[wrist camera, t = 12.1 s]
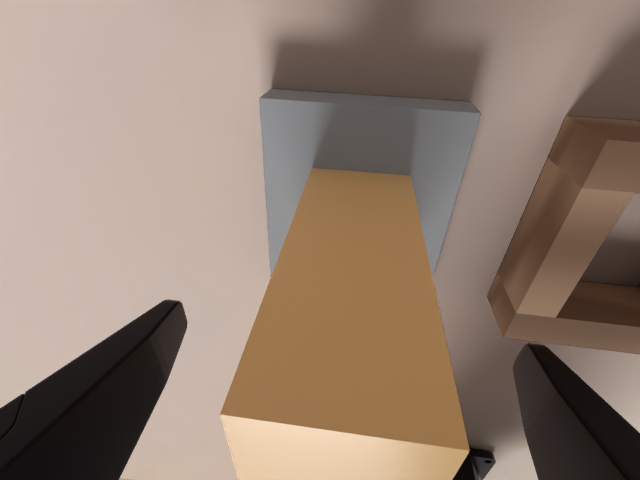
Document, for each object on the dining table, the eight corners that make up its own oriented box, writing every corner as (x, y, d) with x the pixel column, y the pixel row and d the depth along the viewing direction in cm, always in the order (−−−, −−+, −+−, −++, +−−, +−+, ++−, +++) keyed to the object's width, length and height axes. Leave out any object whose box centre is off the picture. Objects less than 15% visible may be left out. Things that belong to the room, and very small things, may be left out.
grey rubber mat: (417, 292, 17) (421, 315, 16) (279, 276, 17) (272, 297, 16) (470, 101, 12) (481, 113, 10) (270, 88, 12) (259, 98, 11)
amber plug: (391, 273, 15) (410, 549, 7) (310, 265, 15) (249, 521, 8) (410, 175, 12) (470, 451, 5) (311, 168, 12) (220, 414, 5)
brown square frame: (653, 314, 16) (695, 360, 14) (487, 296, 16) (503, 337, 14) (811, 132, 11) (911, 161, 9) (566, 115, 12) (607, 139, 10)
